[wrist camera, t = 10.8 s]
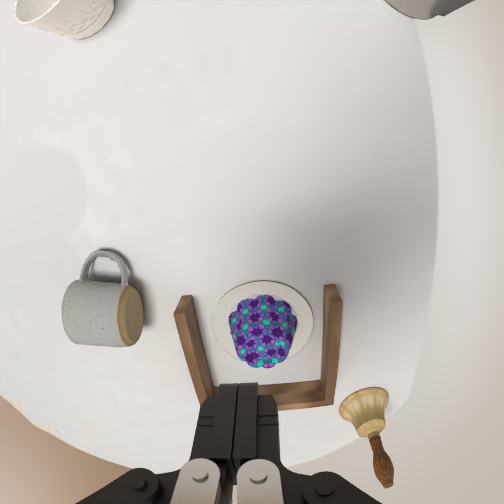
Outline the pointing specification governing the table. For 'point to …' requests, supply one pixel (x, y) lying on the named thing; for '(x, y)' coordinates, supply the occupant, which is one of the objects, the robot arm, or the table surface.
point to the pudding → (262, 324)
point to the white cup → (65, 15)
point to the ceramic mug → (102, 308)
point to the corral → (283, 394)
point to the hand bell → (370, 426)
